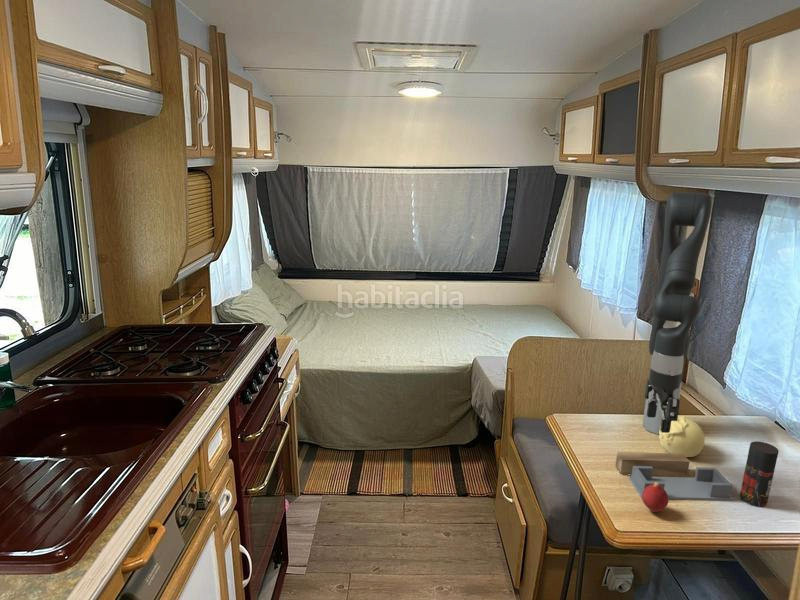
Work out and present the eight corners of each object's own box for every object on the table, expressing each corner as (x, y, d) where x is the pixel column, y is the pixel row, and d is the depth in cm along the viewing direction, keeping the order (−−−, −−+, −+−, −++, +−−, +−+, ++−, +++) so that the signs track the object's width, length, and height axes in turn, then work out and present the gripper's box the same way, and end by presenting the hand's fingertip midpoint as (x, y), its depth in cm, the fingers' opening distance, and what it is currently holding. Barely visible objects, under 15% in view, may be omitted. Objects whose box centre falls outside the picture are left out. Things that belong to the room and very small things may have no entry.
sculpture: (655, 438, 169) (660, 406, 166) (698, 446, 165) (704, 413, 162) (658, 457, 159) (663, 423, 156) (704, 465, 155) (710, 431, 152)
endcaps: (628, 478, 148) (630, 464, 147) (713, 480, 148) (716, 466, 147) (641, 498, 139) (643, 484, 138) (732, 500, 139) (735, 486, 138)
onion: (658, 503, 137) (663, 475, 135) (670, 518, 132) (675, 489, 130) (636, 503, 137) (640, 476, 135) (646, 518, 132) (651, 490, 130)
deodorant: (741, 490, 143) (752, 438, 140) (768, 499, 140) (779, 446, 136) (737, 500, 139) (748, 448, 135) (765, 510, 135) (777, 456, 131)
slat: (615, 467, 154) (617, 451, 152) (680, 469, 153) (682, 453, 152) (620, 475, 150) (622, 459, 148) (686, 477, 149) (689, 461, 148)
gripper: (640, 358, 150) (633, 412, 154) (664, 378, 136) (655, 437, 141) (668, 358, 150) (659, 412, 154) (694, 379, 136) (684, 437, 140)
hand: (657, 424), depth 147 cm, fingers open, 8 cm apart
